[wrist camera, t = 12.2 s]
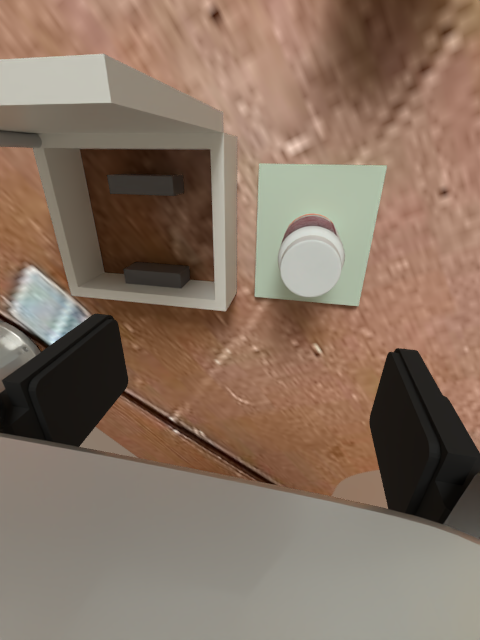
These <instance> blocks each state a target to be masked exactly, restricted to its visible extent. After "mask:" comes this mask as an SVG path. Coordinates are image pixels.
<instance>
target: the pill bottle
mask: <svg viewBox="0 0 480 640" xmlns="http://www.w3.org/2000/svg"><path fill="white" fill-rule="evenodd" d="M344 261H345V252H344V248H343V244H342V242H341V239H340V236H339V234H338V231H337V229H336V227H335V225H334V224H333V222H332V221H331V220H330V219H328V218H327V217H325V216H323V215H320V214H315V213H310V214H305V215H302V216H300V217H298V218H296V219H295V220H294V221H292V222H291V224H290V225H289V226H288V228H287V229H286V232H285V234H284V238H283V240H282V243H281V246H280V249H279V253H278V266H279V270H280V274H281V278H282V281H283V283H284V284H285V286H286V287H287V288H288V289H289V290H290V291H291V292H293V293H295V294H296V295H299V296H302V297H317V296H321V295H323V294H325V293H327V292H329V291H330V290H331V289H332V288H333V287H334V286H335V285H336V283H337V282H338V280H339V278H340V275H341V271H342V268H343V265H344Z"/></svg>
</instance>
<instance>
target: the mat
mask: <svg viewBox="0 0 480 640" xmlns="http://www.w3.org/2000/svg"><path fill="white" fill-rule="evenodd" d="M386 168H387V166H386V165H319V164H259V183H258V213H257V243H256V274H255V297H263V298H274V299H285V300H296V301H307V302H318V303H329V304H340V305H351V306H359V301H360V296H361V291H362V286H363V281H364V276H365V271H366V266H367V262H368V257H369V252H370V247H371V242H372V237H373V232H374V227H375V222H376V217H377V213H378V208H379V203H380V198H381V193H382V188H383V183H384V178H385V173H386ZM310 213H315V214H320V215H323V216H325V217H327V218H328V219H330V220H331V221H332V222H333V224H334V225H335V227H336V229H337V231H338V234H339V236H340V239H341V242H342V244H343V248H344V252H345V261H344V265H343V268H342V271H341V275H340V278H339V280H338V282H337V283H336V285H335V286H334V287H333V288H332V289H331V290H330V291H329V292H327V293H325V294H323V295H321V296H317V297H302V296H299V295H296V294H295V293H293V292H291V291H290V290H289V289H288V288H287V287H286V286H285V284H284V283H283V281H282V278H281V274H280V270H279V266H278V253H279V249H280V246H281V243H282V240H283V238H284V234H285V232H286V229H287V228H288V226H289V225H290V224H291V222H292V221H294V220H295V219H296V218H298V217H300V216H302V215H305V214H310Z"/></svg>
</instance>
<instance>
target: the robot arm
mask: <svg viewBox="0 0 480 640" xmlns="http://www.w3.org/2000/svg"><path fill="white" fill-rule="evenodd" d="M127 384H128V376H127V370H126V365H125V359H124V354H123V348H122V343H121V337H120V332H119V326H118V322H117V321H116V320H114V318H113V317H112V316H111V315H102V314H94V315H92V316H91V317H89V318H88V319H87V320H85V321H84V322H82V323H81V324H80V325H78V326H77V327H75V328H74V329H73V330H71V331H70V332H68V333H67V334H66V335H64V336H63V337H61V338H60V339H59V340H57V341H56V342H54V343H53V344H52V345H50V346H49V347H47V348H46V349H45V350H43V351H42V352H40V350H39V349H38V348H37V346H36V345H35V344H34V343H33V342H32V341H31V339H30V338H28V337H27V336H26V335H25V334H24V333H23V332H21V331H20V330H18V329H17V328H15V327H14V326H12V325H10V324H8V323H6V322H3V321H0V640H480V453H479V451H478V449H477V448H476V446H475V444H474V442H473V441H472V439H471V437H470V435H469V434H468V432H467V430H466V429H465V427H464V425H463V423H462V422H461V420H460V418H459V416H458V415H457V413H456V411H455V409H454V408H453V406H452V404H451V403H450V401H449V400H448V398H447V397H445V396H443V395H442V393H441V392H440V390H439V388H438V386H437V384H436V383H435V381H434V379H433V377H432V375H431V374H430V372H429V370H428V368H427V367H426V365H425V363H424V361H423V359H422V358H421V356H420V354H419V352H418V351H416V350H408V349H399V348H397V349H396V350H395V351H394V352H389V353H388V355H387V358H386V362H385V365H384V369H383V372H382V376H381V379H380V383H379V386H378V390H377V393H376V397H375V401H374V404H373V408H372V411H371V415H370V429H371V433H372V438H373V442H374V447H375V451H376V456H377V460H378V465H379V469H380V473H381V478H382V482H383V487H384V491H385V496H386V500H387V505H388V509H386V508H382V507H378V506H373V505H368V504H364V503H359V502H354V501H350V500H345V499H341V498H336V497H331V496H327V495H322V494H318V493H313V492H308V491H303V490H298V489H293V488H288V487H283V486H278V485H273V484H268V483H263V482H258V481H253V480H248V479H243V478H238V477H233V476H227V475H222V474H217V473H212V472H207V471H202V470H197V469H192V468H187V467H181V466H176V465H171V464H166V463H161V462H156V461H150V460H145V459H140V458H135V457H129V456H124V455H119V454H114V453H108V452H103V451H97V450H93V449H87V448H81V447H79V446H80V445H81V444H82V442H83V441H84V440H85V438H86V437H87V436H88V435H89V434H90V432H91V431H92V430H93V429H94V427H95V426H96V425H97V424H98V423H99V421H100V420H101V419H102V418H103V416H104V415H105V414H106V413H107V411H108V410H109V409H110V408H111V406H112V405H113V404H114V403H115V401H116V400H117V399H118V398H119V396H120V395H121V394H122V393H123V391H124V390H125V389H126V387H127Z"/></svg>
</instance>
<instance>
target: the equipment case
mask: <svg viewBox="0 0 480 640" xmlns="http://www.w3.org/2000/svg"><path fill="white" fill-rule="evenodd" d="M0 147H26V148H33V151H34V155H35V159H36V163H37V166H38V170H39V174H40V178H41V182H42V185H43V189H44V193H45V197H46V201H47V204H48V208H49V212H50V216H51V220H52V223H53V227H54V231H55V235H56V239H57V242H58V246H59V250H60V254H61V258H62V261H63V265H64V269H65V273H66V277H67V281H68V284H69V288H70V292H71V296H80V297H90V298H100V299H110V300H120V301H129V302H139V303H149V304H159V305H169V306H178V307H188V308H198V309H208V310H218V311H226V310H227V309H228V307H229V305H230V303H231V302H232V300H233V298H234V297H235V295H236V293H237V136H234V135H230V134H227V133H224V127H223V112H222V111H220V110H217V109H215V108H213V107H211V106H209V105H207V104H205V103H203V102H201V101H199V100H197V99H195V98H193V97H191V96H189V95H187V94H185V93H183V92H181V91H179V90H177V89H175V88H173V87H171V86H168V85H166V84H164V83H162V82H160V81H158V80H156V79H154V78H152V77H150V76H148V75H146V74H144V73H142V72H140V71H138V70H136V69H134V68H132V67H130V66H128V65H126V64H124V63H121V62H119V61H117V60H115V59H113V58H111V57H109V56H107V55H105V54H93V55H75V56H57V57H38V58H20V59H2V60H0ZM80 149H139V150H210V151H211V183H212V216H213V248H214V280H215V282H211V281H199V280H190V269H189V266H183V265H170V264H157V263H144V262H135V263H133V264H131V265H130V266H128V267H126V268H124V269H123V270H124V274H117V273H105V272H104V267H103V262H102V257H101V252H100V247H99V242H98V237H97V232H96V227H95V222H94V217H93V212H92V207H91V202H90V197H89V192H88V188H87V183H86V178H85V173H84V168H83V163H82V158H81V153H80ZM107 177H108V183H109V189H110V194H137V195H166V196H175V195H178V194H182V193H184V182H183V175H160V174H113V175H107Z"/></svg>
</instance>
